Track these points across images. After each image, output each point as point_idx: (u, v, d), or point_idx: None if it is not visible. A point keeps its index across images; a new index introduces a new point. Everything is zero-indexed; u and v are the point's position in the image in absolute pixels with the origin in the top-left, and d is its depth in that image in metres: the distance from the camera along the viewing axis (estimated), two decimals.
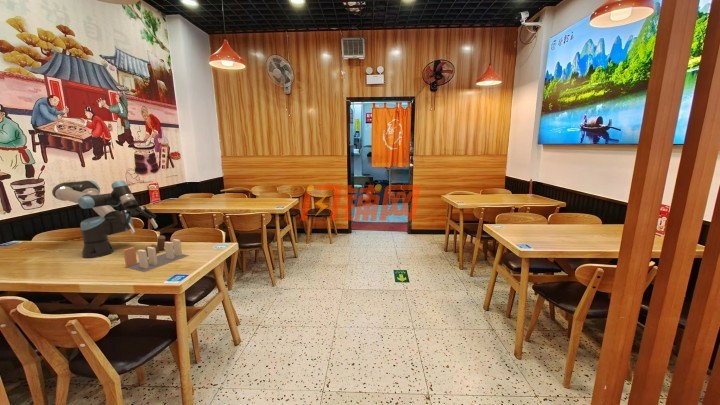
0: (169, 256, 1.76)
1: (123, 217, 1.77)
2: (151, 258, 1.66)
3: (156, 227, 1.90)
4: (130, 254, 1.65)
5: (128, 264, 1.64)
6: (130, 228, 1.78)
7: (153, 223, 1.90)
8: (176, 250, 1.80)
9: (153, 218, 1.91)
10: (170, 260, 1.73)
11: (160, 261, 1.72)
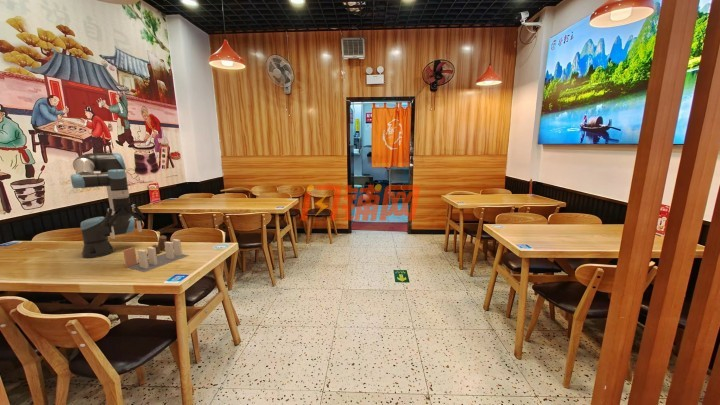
0: (169, 256, 1.76)
1: (108, 218, 1.53)
2: (151, 258, 1.66)
3: (140, 231, 1.69)
4: (130, 254, 1.65)
5: (128, 264, 1.64)
6: (111, 232, 1.56)
7: (138, 226, 1.68)
8: (176, 250, 1.80)
9: (140, 220, 1.69)
10: (170, 260, 1.73)
11: (160, 261, 1.72)
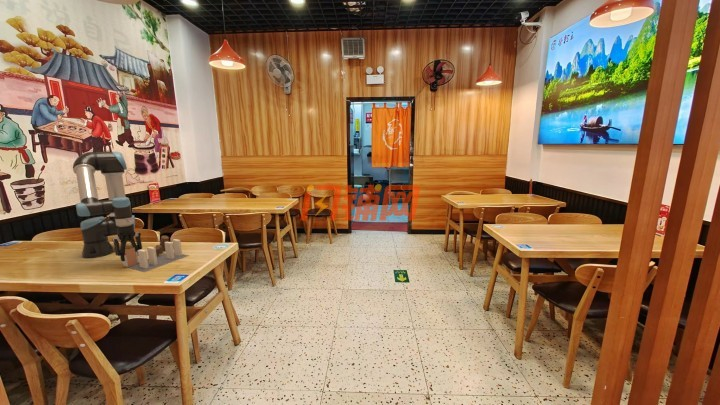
0: (169, 256, 1.76)
1: (118, 248, 1.58)
2: (151, 258, 1.66)
3: None
4: (130, 254, 1.65)
5: (128, 264, 1.64)
6: (124, 260, 1.62)
7: None
8: (176, 250, 1.80)
9: (137, 251, 1.68)
10: (170, 260, 1.73)
11: (160, 261, 1.72)
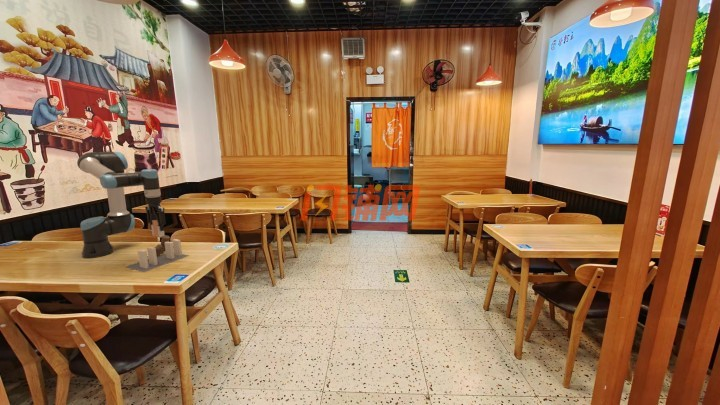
0: (169, 256, 1.76)
1: (147, 216, 1.68)
2: (151, 258, 1.66)
3: None
4: (155, 226, 1.68)
5: (154, 234, 1.69)
6: None
7: None
8: (176, 250, 1.80)
9: (160, 225, 1.66)
10: (170, 260, 1.73)
11: (160, 261, 1.72)
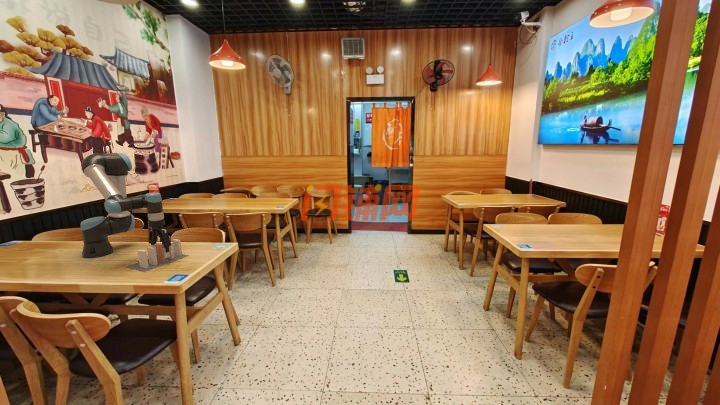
0: None
1: (149, 236, 1.71)
2: (151, 258, 1.66)
3: None
4: (159, 251, 1.70)
5: (158, 258, 1.72)
6: None
7: None
8: (176, 250, 1.80)
9: (165, 247, 1.68)
10: (170, 260, 1.73)
11: (160, 261, 1.72)
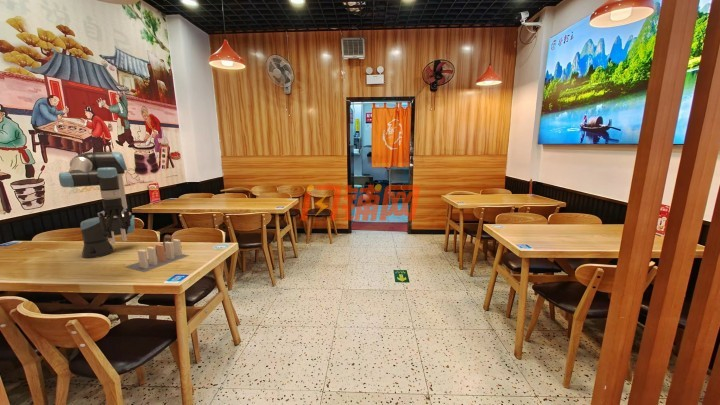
0: (169, 256, 1.76)
1: (103, 223, 1.43)
2: (151, 258, 1.66)
3: (124, 240, 1.53)
4: (159, 251, 1.70)
5: (158, 258, 1.72)
6: (111, 237, 1.47)
7: (123, 234, 1.52)
8: (176, 250, 1.80)
9: (125, 228, 1.53)
10: (170, 260, 1.73)
11: (160, 261, 1.72)
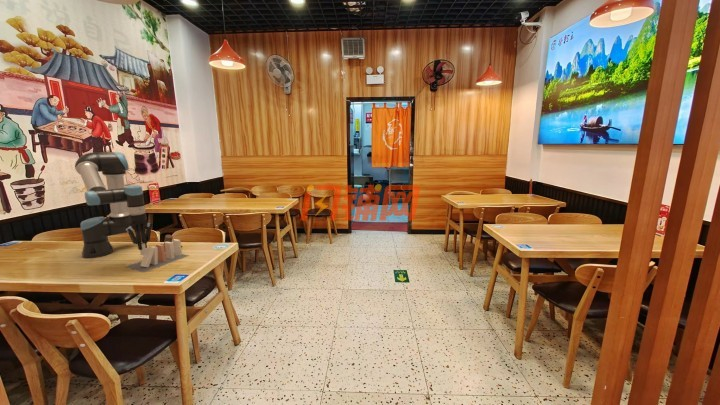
0: (169, 256, 1.76)
1: (133, 237, 1.56)
2: None
3: None
4: (159, 251, 1.70)
5: (158, 258, 1.72)
6: None
7: None
8: (176, 250, 1.80)
9: None
10: (170, 260, 1.73)
11: (160, 261, 1.72)
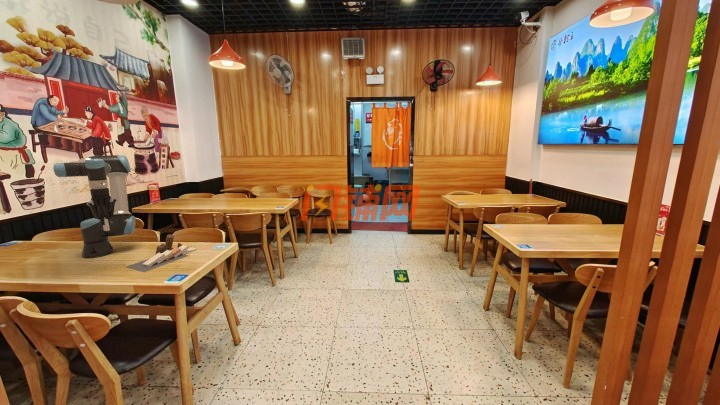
0: None
1: (95, 212, 1.53)
2: None
3: None
4: None
5: None
6: (104, 225, 1.57)
7: None
8: None
9: None
10: (170, 260, 1.73)
11: None
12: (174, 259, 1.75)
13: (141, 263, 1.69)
